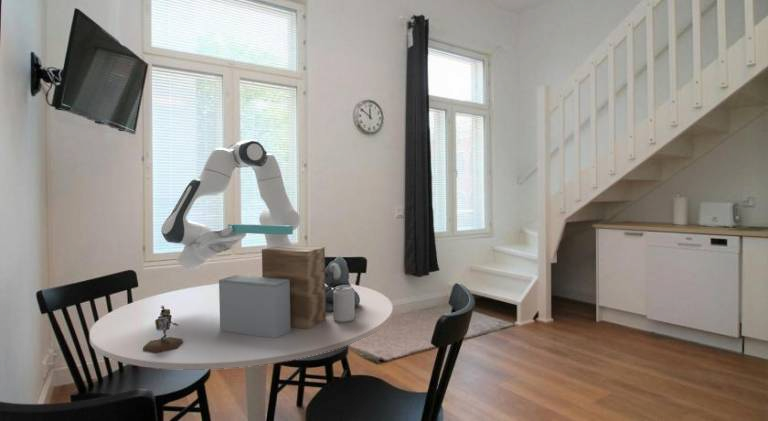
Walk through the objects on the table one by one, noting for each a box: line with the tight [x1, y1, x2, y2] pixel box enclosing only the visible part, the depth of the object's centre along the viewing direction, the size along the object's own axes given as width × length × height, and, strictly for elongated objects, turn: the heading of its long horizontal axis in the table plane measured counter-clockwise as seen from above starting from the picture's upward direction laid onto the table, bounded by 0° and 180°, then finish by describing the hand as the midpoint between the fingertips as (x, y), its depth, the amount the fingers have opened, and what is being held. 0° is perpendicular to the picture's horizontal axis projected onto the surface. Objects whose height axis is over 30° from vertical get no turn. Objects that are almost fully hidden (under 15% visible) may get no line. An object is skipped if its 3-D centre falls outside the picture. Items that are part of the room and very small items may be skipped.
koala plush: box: [325, 256, 361, 312], centre depth 165 cm, size 17×18×20 cm
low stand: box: [218, 274, 291, 339], centre depth 137 cm, size 8×22×17 cm, turn 70°
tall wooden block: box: [261, 245, 326, 330], centre depth 147 cm, size 12×18×26 cm, turn 70°
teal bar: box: [227, 223, 294, 236], centre depth 151 cm, size 3×26×3 cm, turn 70°
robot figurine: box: [142, 305, 184, 354], centre depth 124 cm, size 11×9×12 cm
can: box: [333, 285, 356, 323], centre depth 148 cm, size 8×8×12 cm
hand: (236, 227), depth 154 cm, fingers closed on teal bar, 3 cm apart
